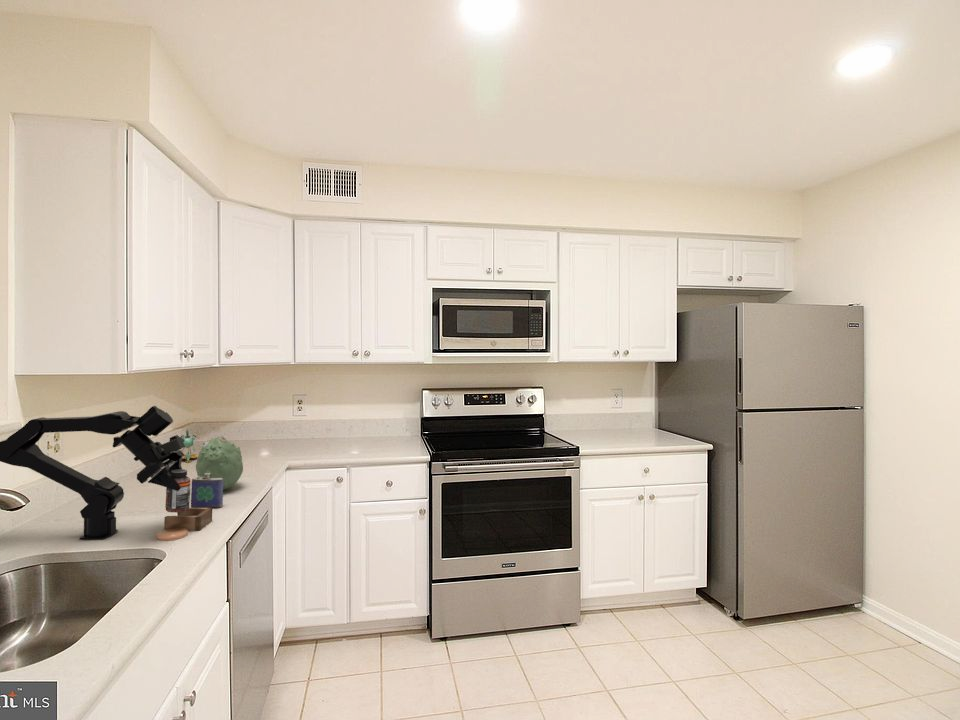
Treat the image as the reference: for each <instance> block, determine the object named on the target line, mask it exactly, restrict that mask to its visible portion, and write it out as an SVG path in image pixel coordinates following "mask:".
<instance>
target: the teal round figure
mask: <svg viewBox="0 0 960 720" xmlns="http://www.w3.org/2000/svg"><path fill="white" fill-rule="evenodd" d="M185 432H186V433H185V435H186V436H185V435H183V434H182V435H180V437H182V439H184V440H185V441H184V442H183V443H184V445H185V447H183V448H182V449H181V451H182V452H183V453H184V450H185V448H186V449H188V450H189V451H187V453H185V455H184V456H183V457H182V460H185V463H187V464H188V463H189V464H190V463H192V460H191V459H197V457H198V455H199V453H198V454H195V453H192V450H193V451H194V452H195V451H196V448H195V446H194V440H195V438H197V436H196V435H194V434H193V435H192V437H191V435H189V432H190V431H189V429H186V430H185ZM191 447H192V448H193V449H192V450H191ZM180 459H181V458H180Z"/></svg>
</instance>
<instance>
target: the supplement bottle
mask: <svg viewBox="0 0 960 720" xmlns="http://www.w3.org/2000/svg"><path fill="white" fill-rule="evenodd" d="M187 475H188V469H183V468H182V469H177V470H172V471H171V476H172V477H173V478H174V479H175V481H176V482H177V483H178V484H179V486H180V487H181V489H180V490H178V491H176V490H173V489H170V488H167V487H165V491H166V493H165V511H166V512H168V513H177V512H183V511H186V510H187V509H189V508H190V504H191V478H190V477H189V476H187Z"/></svg>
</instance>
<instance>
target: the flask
mask: <svg viewBox="0 0 960 720" xmlns="http://www.w3.org/2000/svg"><path fill="white" fill-rule="evenodd" d="M210 474H211V473H205V476H203V477H202V478H200V476H199V477H198V476H196V477H193V478H192V479H191V491H190V508H212V509H214V510H215V509H221V508H222V507H223V506H224V500H223V498H224V490H223V478H210Z"/></svg>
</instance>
